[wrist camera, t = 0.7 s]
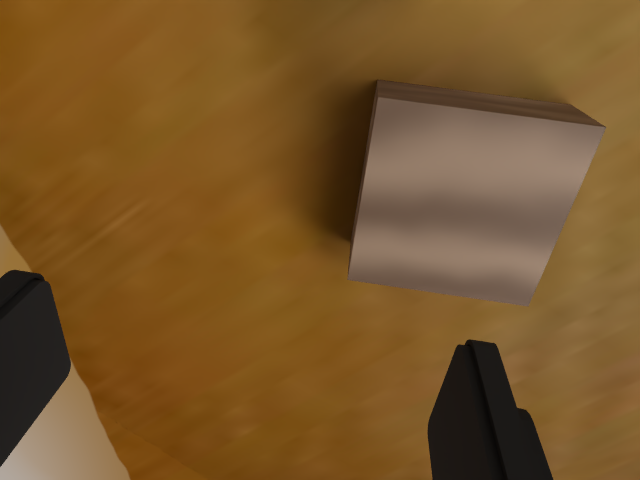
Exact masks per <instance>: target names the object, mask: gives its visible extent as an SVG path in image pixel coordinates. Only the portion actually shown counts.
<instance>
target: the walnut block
mask: <svg viewBox="0 0 640 480" xmlns="http://www.w3.org/2000/svg"><path fill="white" fill-rule="evenodd" d="M605 129H606V127H605V126H603V125H602V124H600V123H599V122H597V121H596V120H594V119H592V118H591V117H589V116H588V115H586V114H585V113H583V112H582V111H580V110H578V109H577V108H575V107H574V106H572V105H568V104H561V103H553V102H545V101H538V100H530V99H523V98H515V97H507V96H500V95H492V94H484V93H477V92H469V91H461V90H454V89H446V88H438V87H431V86H423V85H415V84H408V83H400V82H393V81H385V80H377V85H376V92H375V98H374V104H373V110H372V116H371V122H370V128H369V134H368V140H367V146H366V153H365V159H364V165H363V171H362V177H361V183H360V189H359V195H358V201H357V207H356V214H355V220H354V226H353V232H352V238H351V245H350V257H349V268H348V280H352V281H359V282H366V283H373V284H380V285H387V286H393V287H400V288H407V289H414V290H421V291H427V292H434V293H441V294H448V295H455V296H462V297H468V298H475V299H482V300H489V301H496V302H502V303H509V304H516V305H523V306H529V303H530V301H531V299H532V296H533V294H534V292H535V290H536V287H537V285H538V283H539V280H540V278H541V276H542V273H543V271H544V269H545V267H546V264H547V262H548V260H549V257H550V255H551V253H552V251H553V248H554V246H555V244H556V241H557V239H558V237H559V235H560V232H561V230H562V228H563V225H564V223H565V221H566V218H567V216H568V214H569V212H570V209H571V207H572V205H573V202H574V200H575V198H576V196H577V193H578V191H579V189H580V186H581V184H582V182H583V180H584V177H585V175H586V173H587V170H588V168H589V166H590V163H591V161H592V159H593V157H594V154H595V152H596V150H597V147H598V145H599V143H600V141H601V138H602V136H603V134H604V131H605Z"/></svg>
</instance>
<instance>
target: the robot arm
mask: <svg viewBox="0 0 640 480" xmlns="http://www.w3.org/2000/svg"><path fill="white" fill-rule="evenodd" d="M70 367H71V362H70V358H69V354H68V350H67V346H66V343H65V339H64V335H63V331H62V328H61V324H60V320H59V316H58V313H57V309H56V305H55V301H54V298H53V294H52V290H51V286H50V284H49V283H48V282H47V281H45V280H44V277H43V276H42V275H41V274H38V273H32V272H25V271H19V270H11V271H9V272H7V273H6V274H4V275H3V276H2V277H1V278H0V467H1V466H2V464H3V463H4V462H5V460H6V459H7V457H8V456H9V455H10V453H11V452H12V451H13V449H14V448H15V447H16V445H17V444H18V443H19V441H20V440H21V439H22V437H23V436H24V435H25V433H26V432H27V430H28V429H29V428H30V426H31V425H32V424H33V422H34V421H35V420H36V418H37V417H38V416H39V414H40V413H41V412H42V410H43V409H44V408H45V406H46V405H47V403H48V402H49V401H50V399H51V398H52V397H53V395H54V394H55V393H56V391H57V390H58V389H59V387H60V386H61V385H62V383H63V382H64V381H65V379H66V378H67V376H68V374H69V371H70ZM428 442H429V451H430V460H431V469H432V477H433V480H553V477H552V474H551V472H550V469H549V466H548V463H547V460H546V457H545V454H544V451H543V448H542V446H541V443H540V440H539V437H538V434H537V431H536V428H535V425H534V422H533V420H532V418H531V416H530V414H529V413H528V412H527V411H526V410H524V409H520V408H517V407H516V403H515V400H514V397H513V394H512V391H511V388H510V385H509V382H508V378H507V375H506V372H505V369H504V366H503V363H502V360H501V357H500V353H499V350H498V348H497V346H496V344H495V343H489V342H483V341H476V340H467V341H466V343H465V345H458V346H457V347H456V349H455V352H454V355H453V357H452V360H451V363H450V365H449V368H448V371H447V373H446V376H445V379H444V381H443V384H442V387H441V389H440V392H439V395H438V397H437V400H436V403H435V405H434V408H433V411H432V413H431V416H430V419H429V423H428Z"/></svg>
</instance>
